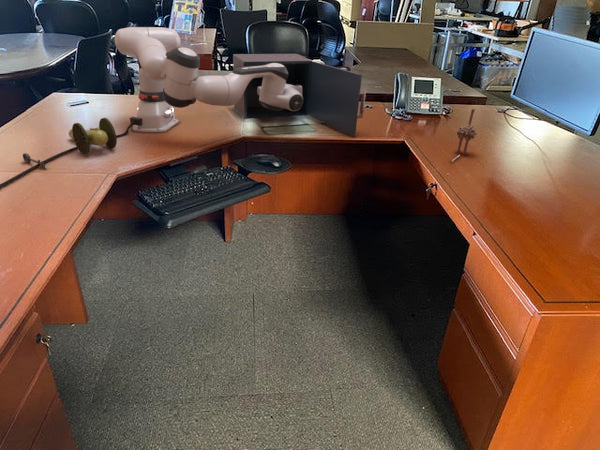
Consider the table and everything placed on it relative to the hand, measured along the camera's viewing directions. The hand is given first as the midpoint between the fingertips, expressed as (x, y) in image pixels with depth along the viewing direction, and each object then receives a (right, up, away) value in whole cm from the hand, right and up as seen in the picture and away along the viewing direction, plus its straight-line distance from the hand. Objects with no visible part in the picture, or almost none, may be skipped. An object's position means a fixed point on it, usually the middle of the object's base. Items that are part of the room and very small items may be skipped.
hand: (274, 87), depth 209 cm
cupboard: (-2, -10, +11) cm, 15 cm away
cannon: (-67, -36, -41) cm, 87 cm away
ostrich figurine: (+75, -38, -31) cm, 90 cm away
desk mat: (+5, -20, -7) cm, 22 cm away
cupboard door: (+28, -19, -3) cm, 34 cm away
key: (-78, -45, -59) cm, 107 cm away
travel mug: (+33, -1, +29) cm, 45 cm away
